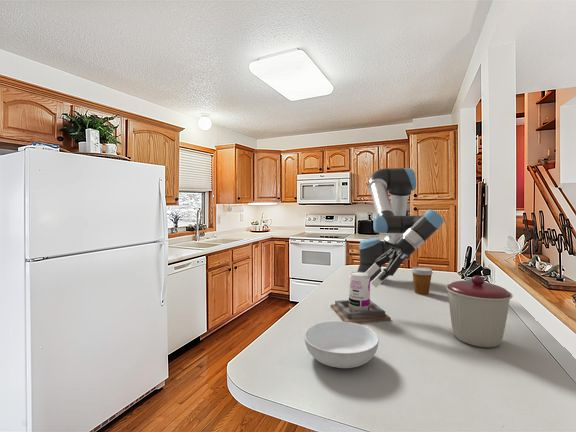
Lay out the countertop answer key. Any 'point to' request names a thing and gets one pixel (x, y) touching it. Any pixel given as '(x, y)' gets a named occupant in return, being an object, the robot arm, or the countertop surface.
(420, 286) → the disposable coffee cup
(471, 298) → the canister
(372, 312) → the jig plate
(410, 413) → the countertop surface
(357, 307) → the supplement can
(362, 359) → the serving bowl
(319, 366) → the countertop surface
